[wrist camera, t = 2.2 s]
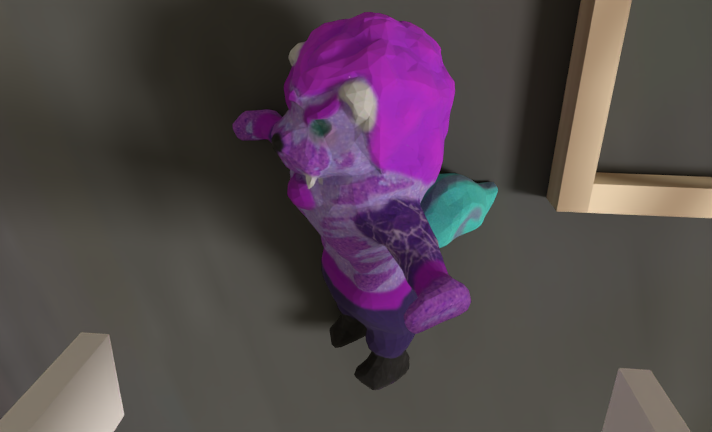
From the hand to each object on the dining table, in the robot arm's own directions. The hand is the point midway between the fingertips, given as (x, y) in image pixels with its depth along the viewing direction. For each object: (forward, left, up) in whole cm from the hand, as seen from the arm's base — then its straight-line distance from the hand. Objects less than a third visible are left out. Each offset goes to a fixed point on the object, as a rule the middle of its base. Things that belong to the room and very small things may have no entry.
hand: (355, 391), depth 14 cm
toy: (0, +2, -11) cm, 11 cm away
